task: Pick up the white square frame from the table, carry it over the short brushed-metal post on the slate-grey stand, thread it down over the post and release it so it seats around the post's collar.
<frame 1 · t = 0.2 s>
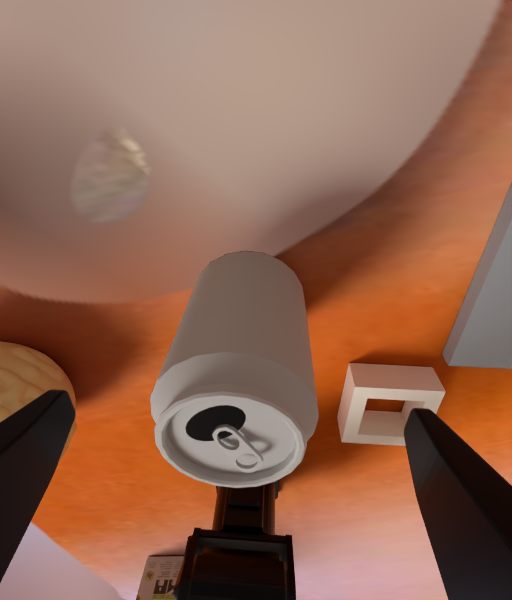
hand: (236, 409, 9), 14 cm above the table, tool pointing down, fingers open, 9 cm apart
sculpture: (28, 372, 30), on the table
white square frame: (381, 393, 28), on the table
coffee box: (177, 567, 50), on the table
can: (249, 293, 24), on the table
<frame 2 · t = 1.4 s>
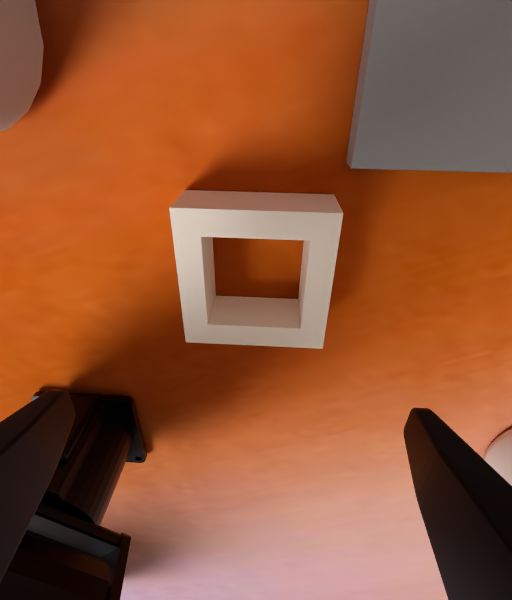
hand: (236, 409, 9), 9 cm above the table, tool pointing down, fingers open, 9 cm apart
white square frame: (257, 259, 16), on the table
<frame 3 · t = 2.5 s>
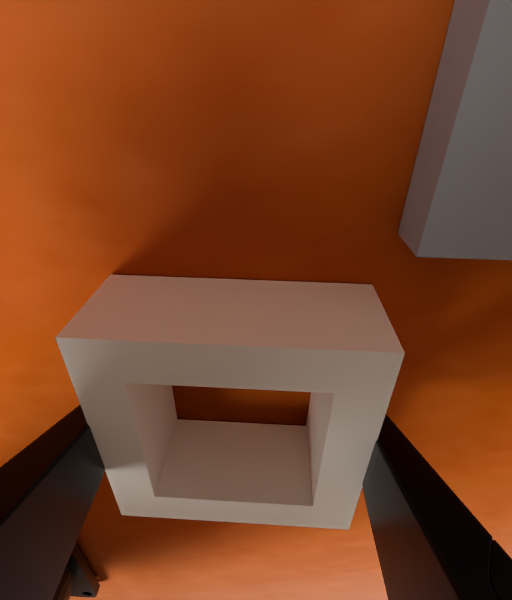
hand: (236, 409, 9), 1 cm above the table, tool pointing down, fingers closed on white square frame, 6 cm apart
white square frame: (240, 375, 10), on the table, touching gripper
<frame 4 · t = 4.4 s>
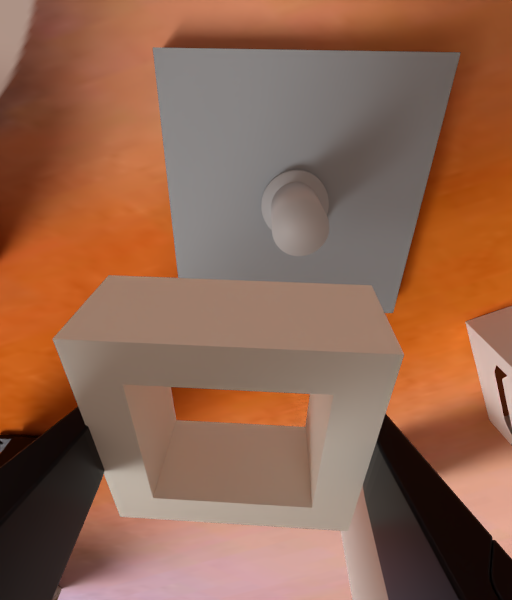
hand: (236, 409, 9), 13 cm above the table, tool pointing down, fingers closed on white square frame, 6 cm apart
white square frame: (239, 376, 10), point 12 cm above the table, touching gripper
post stand: (292, 198, 19), on the table
milk bottle: (373, 467, 31), on the table
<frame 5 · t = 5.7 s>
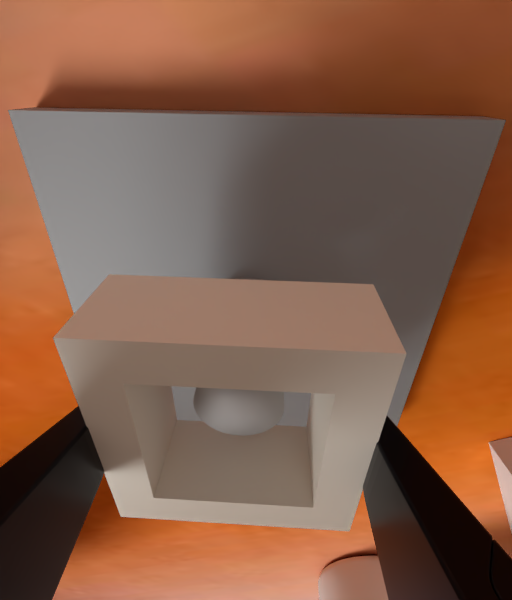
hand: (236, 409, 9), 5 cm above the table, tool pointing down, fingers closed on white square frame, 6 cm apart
white square frame: (240, 375, 10), point 4 cm above the table, touching gripper
post stand: (251, 300, 13), on the table
milk bottle: (368, 571, 26), on the table
when the fingers open (4 cm above the table, at t = 6.5 s): white square frame drops 1 cm, resting on post stand.
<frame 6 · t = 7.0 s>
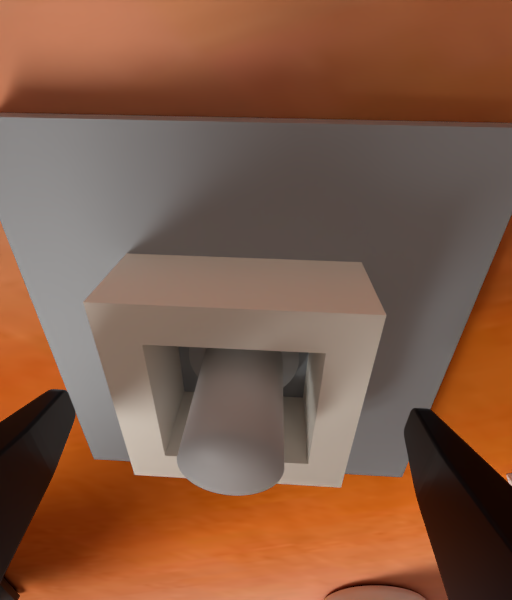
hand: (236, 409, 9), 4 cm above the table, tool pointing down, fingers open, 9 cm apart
white square frame: (243, 348, 11), point 1 cm above the table, touching post stand
post stand: (247, 326, 12), on the table
milk bottle: (372, 599, 25), on the table
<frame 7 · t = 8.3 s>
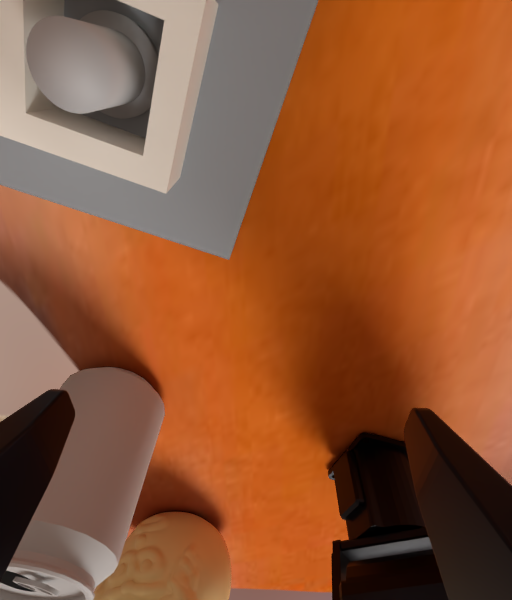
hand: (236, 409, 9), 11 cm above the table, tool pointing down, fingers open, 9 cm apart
sculpture: (181, 523, 38), on the table
white square frame: (118, 69, 14), point 1 cm above the table, touching post stand
post stand: (129, 68, 15), on the table
can: (119, 392, 26), on the table
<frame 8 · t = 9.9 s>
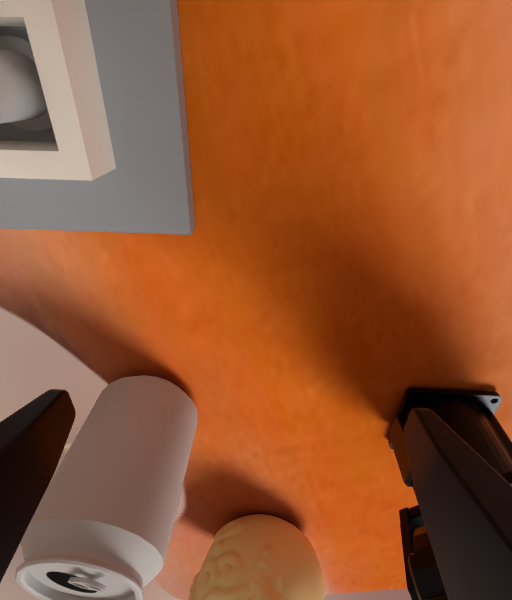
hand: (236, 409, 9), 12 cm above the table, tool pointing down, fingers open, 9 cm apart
sculpture: (261, 527, 37), on the table
white square frame: (28, 88, 15), point 1 cm above the table, touching post stand
post stand: (44, 86, 16), on the table
can: (153, 400, 27), on the table
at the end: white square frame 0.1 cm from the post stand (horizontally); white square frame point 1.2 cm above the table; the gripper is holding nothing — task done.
